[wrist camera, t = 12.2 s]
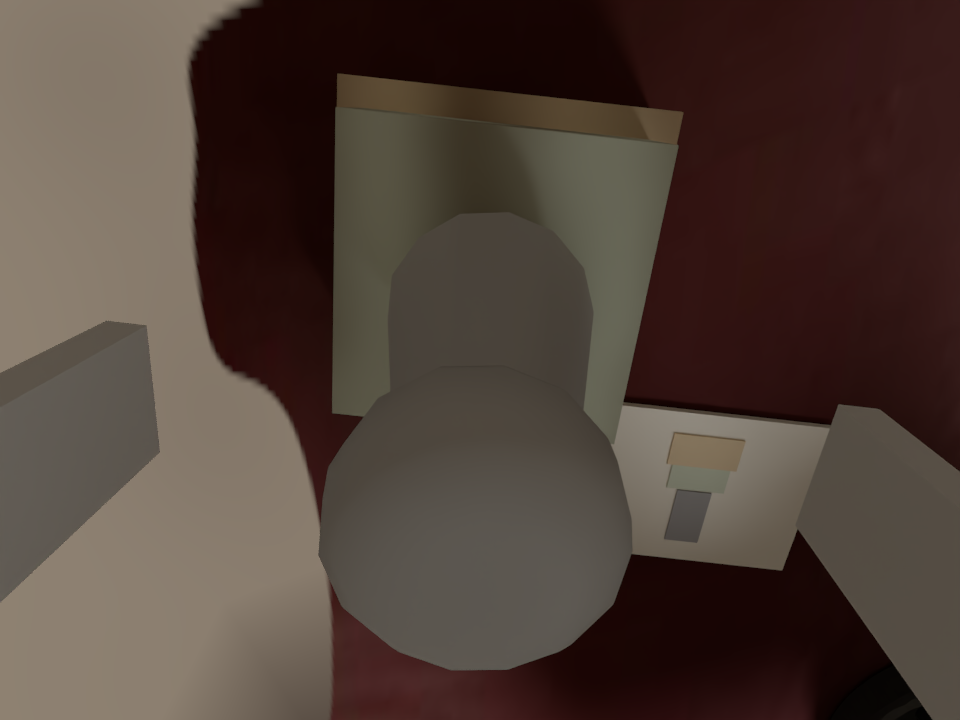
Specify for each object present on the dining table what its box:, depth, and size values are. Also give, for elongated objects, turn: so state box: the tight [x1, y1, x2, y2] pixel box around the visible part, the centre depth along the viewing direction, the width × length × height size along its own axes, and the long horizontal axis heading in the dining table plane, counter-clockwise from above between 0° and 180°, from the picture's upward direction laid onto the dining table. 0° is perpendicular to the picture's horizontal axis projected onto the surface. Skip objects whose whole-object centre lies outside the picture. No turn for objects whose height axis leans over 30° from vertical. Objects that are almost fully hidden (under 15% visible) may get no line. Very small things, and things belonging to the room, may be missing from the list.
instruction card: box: [611, 402, 831, 570], centre depth 32 cm, size 12×9×1 cm
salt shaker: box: [319, 212, 632, 670], centre depth 13 cm, size 6×6×13 cm
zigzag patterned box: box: [332, 73, 683, 444], centre depth 24 cm, size 12×12×9 cm
